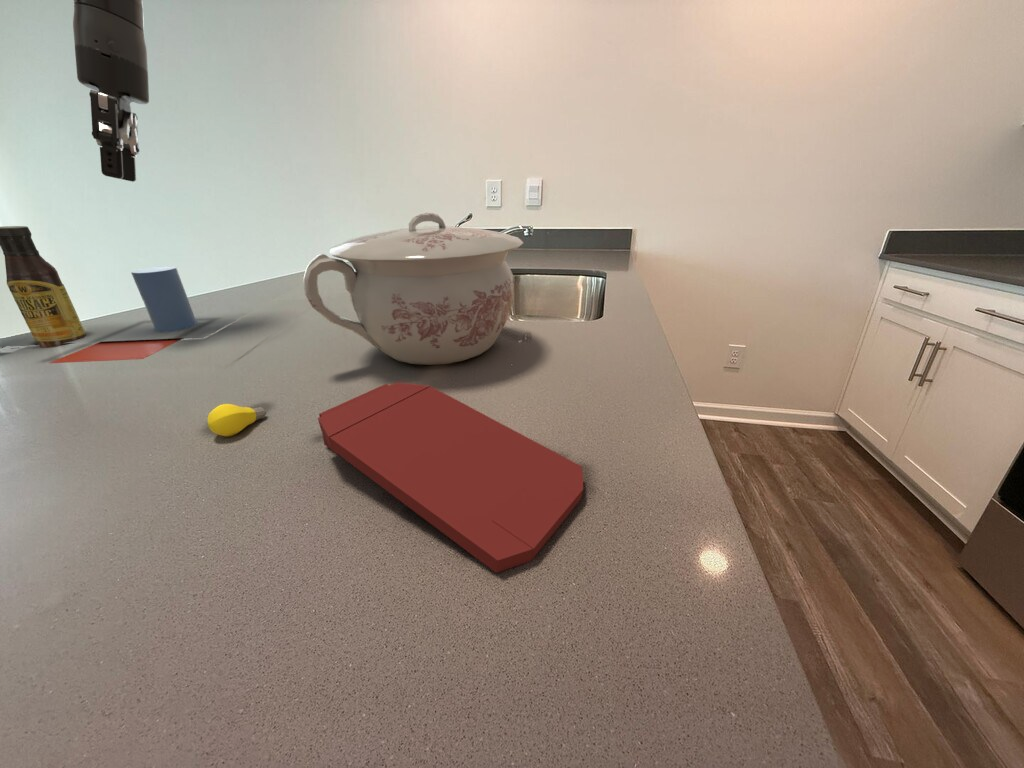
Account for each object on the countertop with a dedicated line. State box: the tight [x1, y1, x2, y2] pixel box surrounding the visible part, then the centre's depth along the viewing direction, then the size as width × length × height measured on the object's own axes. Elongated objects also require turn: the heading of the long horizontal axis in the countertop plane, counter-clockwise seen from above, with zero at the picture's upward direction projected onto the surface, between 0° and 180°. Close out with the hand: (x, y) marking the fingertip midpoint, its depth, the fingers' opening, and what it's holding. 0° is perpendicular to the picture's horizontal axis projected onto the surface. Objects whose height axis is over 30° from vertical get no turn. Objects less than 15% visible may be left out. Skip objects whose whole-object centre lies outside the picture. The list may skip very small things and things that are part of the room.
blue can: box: [130, 266, 198, 333], centre depth 75 cm, size 6×6×11 cm
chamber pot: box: [302, 212, 524, 366], centre depth 62 cm, size 28×28×21 cm
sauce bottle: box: [0, 225, 86, 348], centre depth 68 cm, size 6×6×20 cm
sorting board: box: [49, 337, 184, 364], centre depth 72 cm, size 14×20×1 cm
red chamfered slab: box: [317, 381, 584, 574], centre depth 38 cm, size 12×5×25 cm
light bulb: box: [206, 403, 267, 437], centre depth 45 cm, size 3×6×4 cm, turn 156°
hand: (120, 178), depth 63 cm, fingers open, 8 cm apart
